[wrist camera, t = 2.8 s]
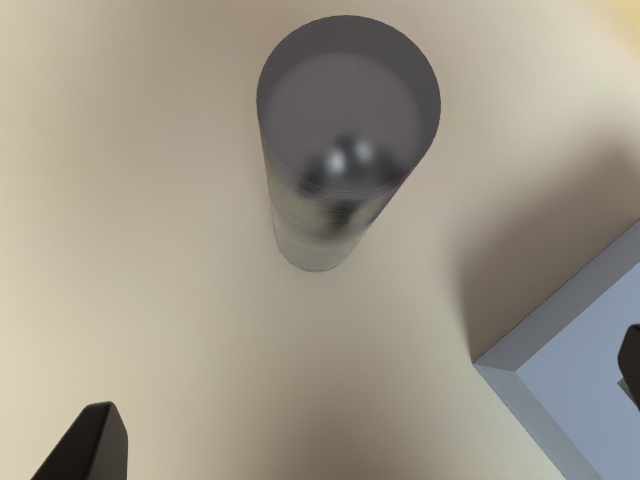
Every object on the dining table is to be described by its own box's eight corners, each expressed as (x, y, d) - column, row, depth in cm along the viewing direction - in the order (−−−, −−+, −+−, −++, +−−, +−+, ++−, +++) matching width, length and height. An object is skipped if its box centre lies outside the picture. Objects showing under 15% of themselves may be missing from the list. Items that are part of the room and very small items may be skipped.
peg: (309, 288, 21) (336, 229, 9) (260, 226, 21) (218, 84, 9) (370, 239, 22) (478, 116, 9) (321, 179, 22) (362, -18, 9)
